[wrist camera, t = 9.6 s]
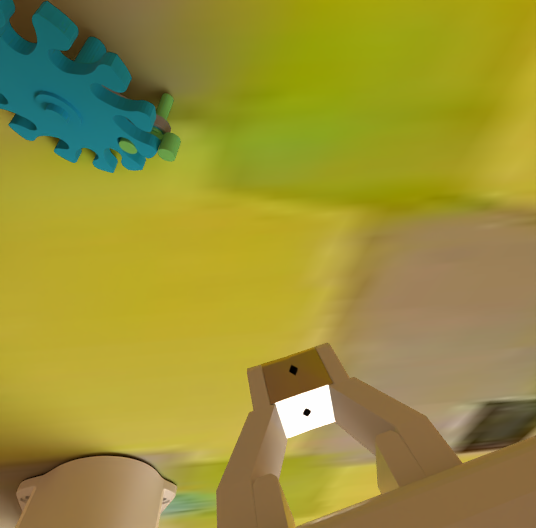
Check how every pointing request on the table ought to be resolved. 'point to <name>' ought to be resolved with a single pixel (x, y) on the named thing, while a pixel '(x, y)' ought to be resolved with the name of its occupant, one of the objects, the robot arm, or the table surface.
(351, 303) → the table surface
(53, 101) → the gear
